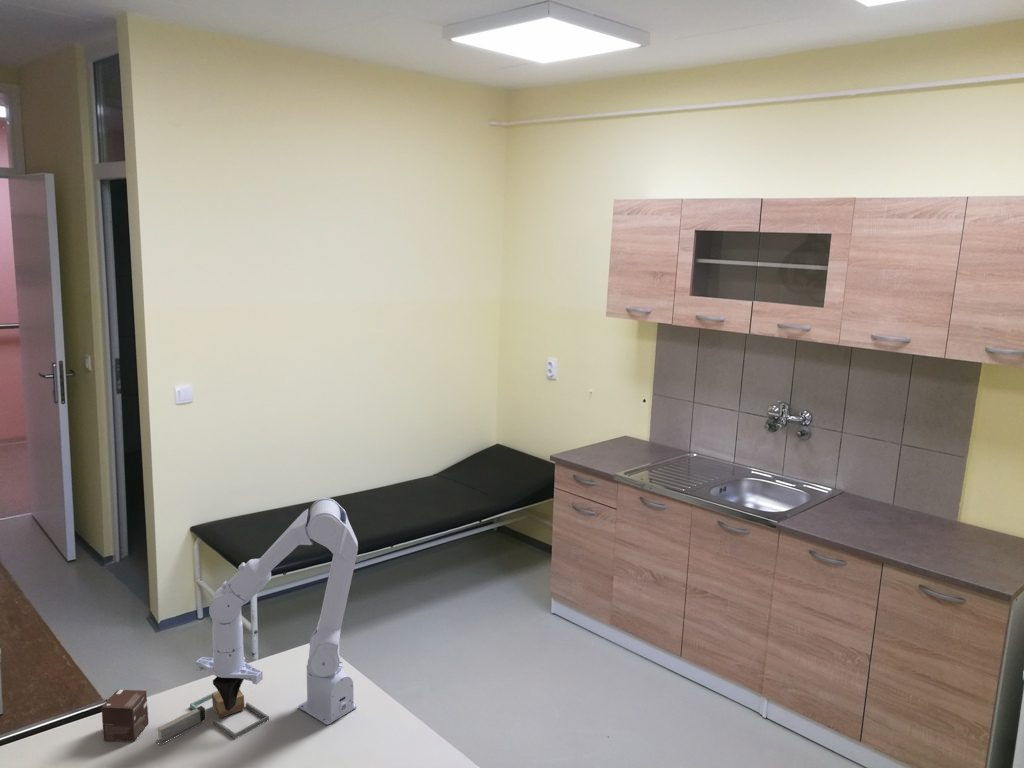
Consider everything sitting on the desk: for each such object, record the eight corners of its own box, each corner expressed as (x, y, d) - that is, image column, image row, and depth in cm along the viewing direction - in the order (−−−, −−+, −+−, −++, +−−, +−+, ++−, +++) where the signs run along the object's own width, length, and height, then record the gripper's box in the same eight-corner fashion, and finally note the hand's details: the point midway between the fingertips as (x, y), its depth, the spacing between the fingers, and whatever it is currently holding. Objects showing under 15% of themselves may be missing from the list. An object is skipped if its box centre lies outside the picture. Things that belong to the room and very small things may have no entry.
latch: (205, 719, 152) (204, 708, 151) (161, 741, 145) (161, 730, 144) (201, 716, 153) (201, 705, 152) (158, 739, 145) (157, 727, 145)
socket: (269, 719, 153) (268, 716, 153) (185, 766, 139) (185, 762, 139) (238, 699, 159) (238, 696, 159) (155, 742, 145) (155, 738, 145)
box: (133, 743, 145) (131, 708, 144) (102, 741, 145) (100, 707, 144) (149, 723, 151) (147, 689, 150) (119, 722, 151) (117, 688, 150)
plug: (244, 709, 156) (243, 695, 155) (219, 717, 153) (218, 703, 152) (237, 698, 160) (236, 685, 159) (212, 706, 157) (211, 693, 156)
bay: (236, 698, 160) (236, 695, 160) (202, 715, 154) (202, 712, 153) (224, 690, 162) (224, 687, 162) (190, 707, 156) (190, 703, 156)
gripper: (271, 643, 153) (272, 704, 155) (211, 629, 157) (214, 689, 159) (248, 660, 146) (250, 724, 148) (187, 646, 150) (190, 708, 153)
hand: (230, 707), depth 153 cm, fingers closed, pressing on plug
